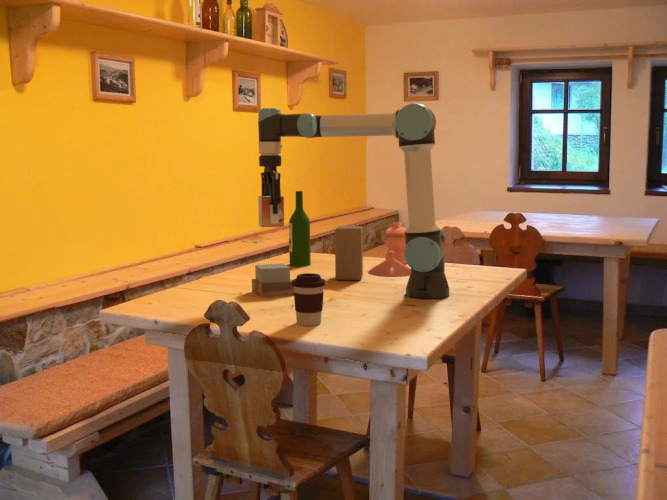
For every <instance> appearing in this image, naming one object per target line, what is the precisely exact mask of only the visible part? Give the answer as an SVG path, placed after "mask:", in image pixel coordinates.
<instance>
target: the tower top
mask: <svg viewBox="0 0 667 500" xmlns="http://www.w3.org/2000/svg"><path fill="white" fill-rule="evenodd" d="M254 267H255V271H254V272H255V279H256V280H257V281H259V282H260V283H261V284H264V283H281V282H290V279H291V266H288V265H286V264H285V263H284V262H283V263H268V264H255V265H254Z"/></svg>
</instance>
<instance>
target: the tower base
mask: <svg viewBox="0 0 667 500" xmlns="http://www.w3.org/2000/svg"><path fill="white" fill-rule="evenodd" d="M292 280H293V279H292V278H290V282H281V283H264V284H261V283H260V282H259V281H257V280H256V278H251V292H252V293H253V294H255V295H257V296H259V297H261V298H263V299H264V298H275V297H286V296H287V297H288V296H294V286H292Z"/></svg>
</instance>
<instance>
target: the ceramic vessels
mask: <svg viewBox="0 0 667 500" xmlns="http://www.w3.org/2000/svg"><path fill="white" fill-rule="evenodd" d="M401 224H402V223H401V222H399V221H398V222H396V221H395V222H393V226H391V227H389V228H387V229H386V232H385V233H386V235H387V237H386V239H385V241H384V242H385V245H386V247H387V248H388V250H387V251H386V253H385V256H384V258H385V259H384V261H382V262H380V263H379V264H378V265H376V266H373V267H372V268H371V269H369V270H368V271H367V274H368V275H370V276H374V277H382V278H384V277H385V278H402V277H410V274H411V267H408V266H407V265H406V264H407V263H406V260H405V257H404V251H405V250H404V249H405V247H406V245H405V230H406V229H407V227H404V226H402V225H401Z"/></svg>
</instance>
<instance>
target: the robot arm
mask: <svg viewBox="0 0 667 500" xmlns="http://www.w3.org/2000/svg"><path fill="white" fill-rule="evenodd" d="M257 119H258V120H257V124H258V126H257V128H258V130H257V131H258V154H259V156H258V166H259V167H261V168H262V167H263V172H261V173H260V177H261V178H260V179H261V196H270V197H271V202H270V203H269V204H270V224H279V208H278V204H279V203H281V196H282V194H281V193H282V190H281V173H280V172H278V170H277V169H278V168H277V167H281V166H282V156H281V155H280V154H281V153H282V147H283V145H282V138H286V137H288V138H289V137H290V138H294V137H296V138H297V137H299V138H306V139H309V138H310V139H312V138H334V137H335V138H337V137H338V138H339V137H346V138H347V137H376V136H377V137H378V136H379V137H380V136H381V137H383V136H385V137H386V136H387V137H388V136H389V137H390V136H393V137H395V139H397V140H398V147H399V149H400V150H401V151H402V152H403V156H404V157H403V158H404V172H405V189H406V200H407V201H406V203H407V205H406V206H407V218H408V227H406V230H405V245H406V247H405V249H404V250H405V251H404V257H405V260H406V264H407V265H408V266H409V268H410V269H411V274H410V276H408V277H409V278H408V281H407V283H406V287H405V295H406V296H408V297H412V298H420V299H437V298H438V299H439V298H440V299H441V298H446V297H448V296H450V286H449V283H448V279H447V276H446V273H445V268H446V267H445V264H446V263H445V262H446V261H445V258H446V257H445V256H446V255H445V254H446V249H445V248H446V246H445V245H446V234H445V230H444V229H441V228H440V227H439V226H438V225H437V224H436V217H435V200H434V185H433V184H434V183H433V170H432V169H433V168H432V167H433V165H432V154H431V153H432V152H431V150H433V148H434V146H436V139H435V129H436V125H437V120H436V116H435V114H434V112H433V111H432V110H431V109H430V108H428V106H426V105H424V104H423V103H420V102H412V103H408V104H406V105H403V107H402V108H400V109H396V110H395V111H394V112H390V113H389V112H388V113H387V112H385V113H360V114H359V113H357V114H356V113H355V114H327V115H326V114H325V115H315V114H313V113H304V112H303V113H289V114H288V113H281V109H279V108H275V107H274V108H273V107H272V108H271V107H270V108H269V107H267V108H266V107H264V108H263V107H262V108H260V109H258V118H257Z"/></svg>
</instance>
